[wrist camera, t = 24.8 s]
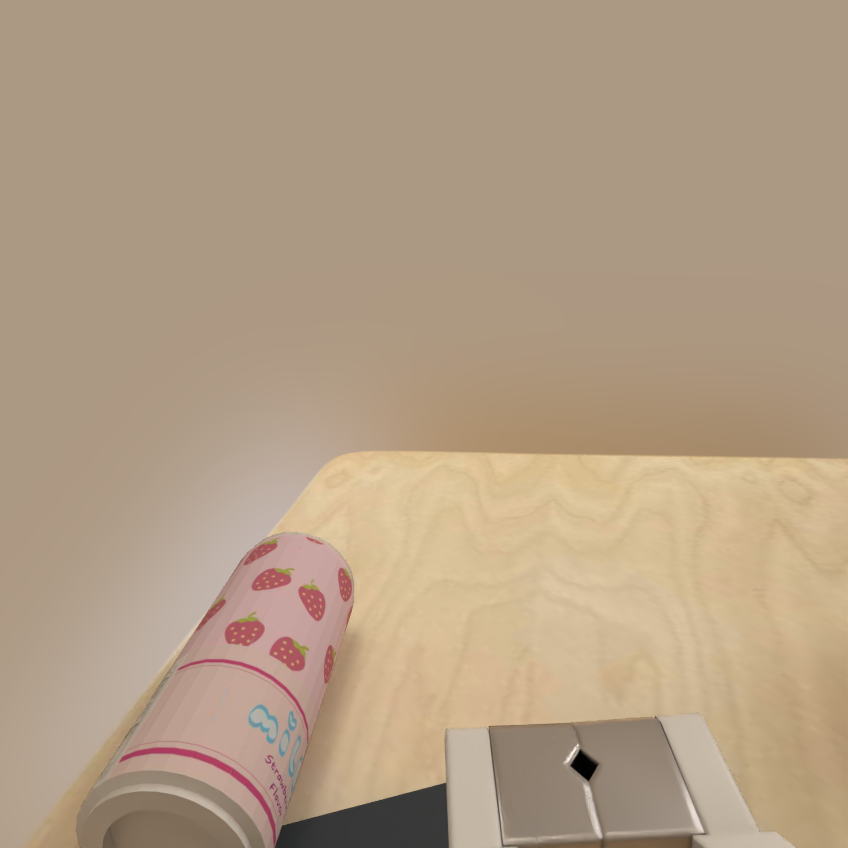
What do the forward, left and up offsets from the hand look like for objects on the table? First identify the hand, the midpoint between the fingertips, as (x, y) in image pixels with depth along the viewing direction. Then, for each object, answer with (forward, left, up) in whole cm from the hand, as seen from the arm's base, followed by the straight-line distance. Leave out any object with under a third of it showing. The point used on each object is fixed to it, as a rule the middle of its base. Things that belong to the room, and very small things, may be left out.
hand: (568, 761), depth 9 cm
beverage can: (-8, +10, -12) cm, 17 cm away
